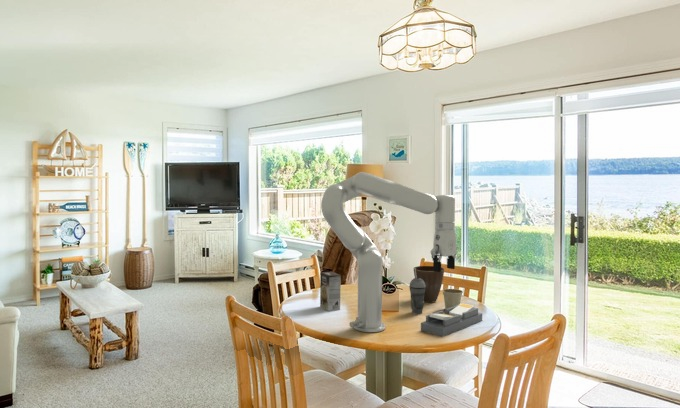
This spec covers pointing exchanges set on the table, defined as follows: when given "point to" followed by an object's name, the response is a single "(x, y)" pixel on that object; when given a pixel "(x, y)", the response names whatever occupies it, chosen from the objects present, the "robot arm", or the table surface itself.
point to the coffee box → (330, 291)
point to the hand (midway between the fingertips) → (444, 270)
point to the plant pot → (430, 281)
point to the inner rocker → (440, 316)
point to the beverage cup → (417, 294)
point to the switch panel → (450, 322)
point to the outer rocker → (461, 309)
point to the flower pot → (452, 297)
